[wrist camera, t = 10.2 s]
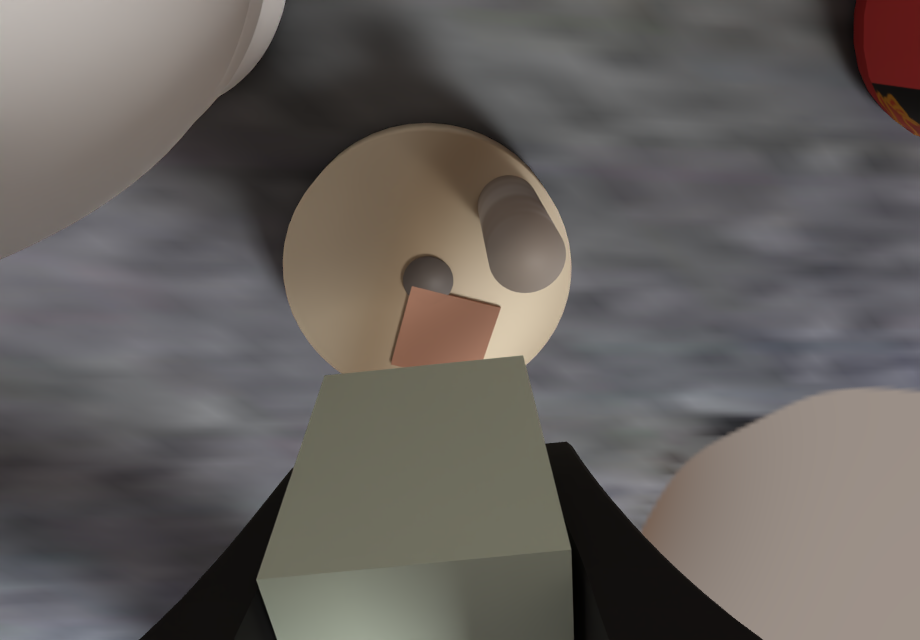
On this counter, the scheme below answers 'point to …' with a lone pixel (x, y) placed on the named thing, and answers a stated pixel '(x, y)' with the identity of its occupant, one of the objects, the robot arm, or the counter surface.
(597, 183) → the counter surface
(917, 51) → the canned food
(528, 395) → the link block
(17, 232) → the jar
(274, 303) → the counter surface
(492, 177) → the disc
